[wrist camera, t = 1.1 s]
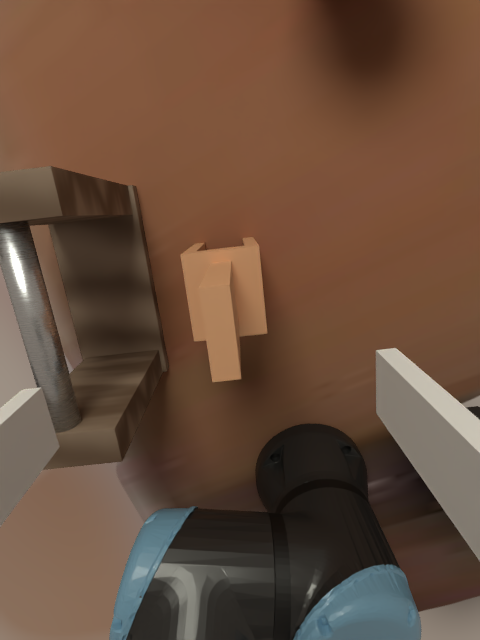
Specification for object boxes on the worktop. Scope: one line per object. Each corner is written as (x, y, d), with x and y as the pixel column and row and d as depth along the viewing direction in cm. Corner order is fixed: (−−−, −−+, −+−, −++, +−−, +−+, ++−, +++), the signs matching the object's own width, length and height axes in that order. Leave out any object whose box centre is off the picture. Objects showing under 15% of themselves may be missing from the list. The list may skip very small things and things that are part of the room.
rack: (168, 366, 47) (128, 460, 29) (92, 375, 47) (5, 473, 29) (135, 186, 40) (58, 165, 23) (47, 196, 41) (-98, 184, 23)
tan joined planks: (259, 303, 44) (282, 389, 23) (204, 309, 45) (175, 400, 23) (252, 237, 42) (271, 262, 21) (194, 243, 42) (152, 276, 21)
